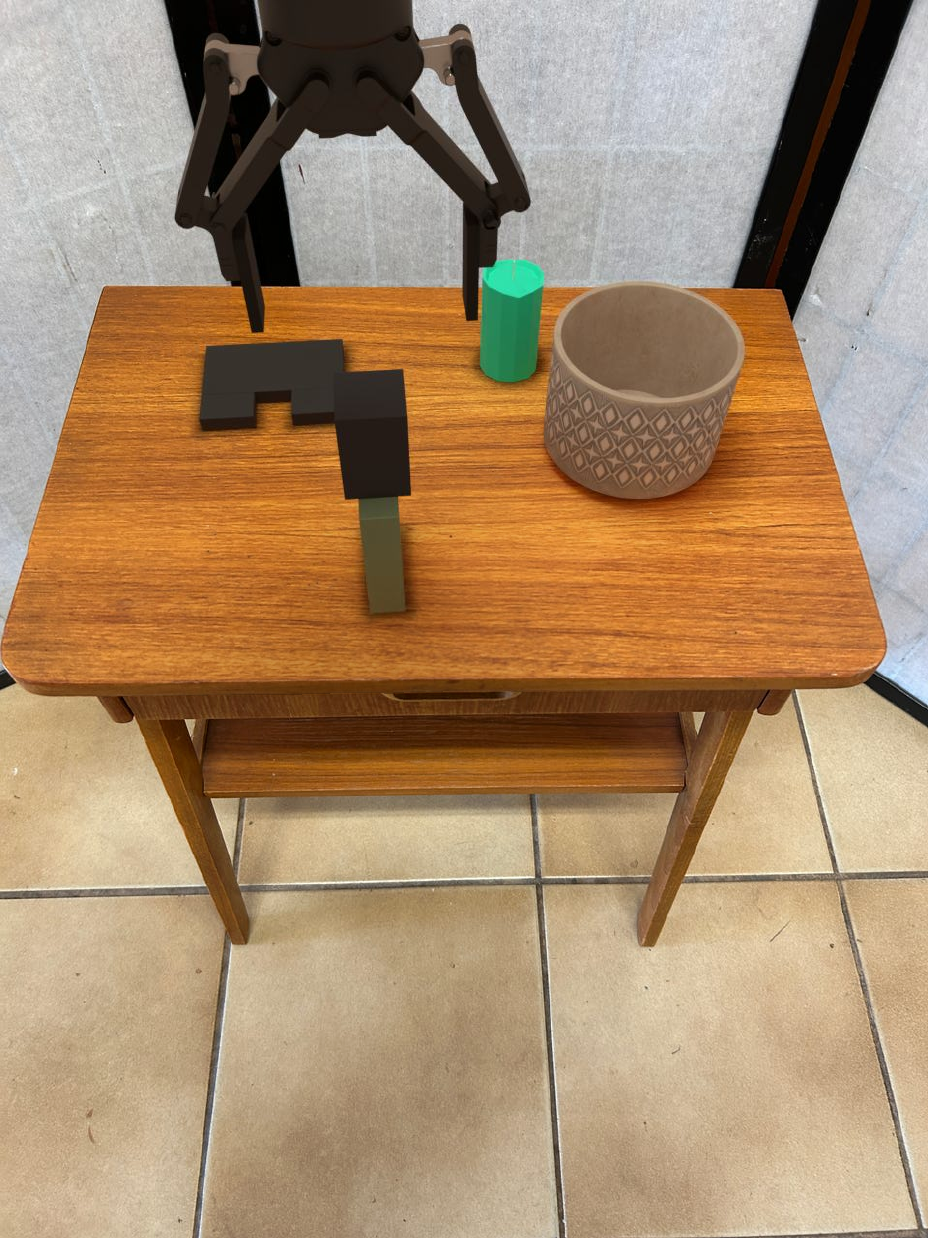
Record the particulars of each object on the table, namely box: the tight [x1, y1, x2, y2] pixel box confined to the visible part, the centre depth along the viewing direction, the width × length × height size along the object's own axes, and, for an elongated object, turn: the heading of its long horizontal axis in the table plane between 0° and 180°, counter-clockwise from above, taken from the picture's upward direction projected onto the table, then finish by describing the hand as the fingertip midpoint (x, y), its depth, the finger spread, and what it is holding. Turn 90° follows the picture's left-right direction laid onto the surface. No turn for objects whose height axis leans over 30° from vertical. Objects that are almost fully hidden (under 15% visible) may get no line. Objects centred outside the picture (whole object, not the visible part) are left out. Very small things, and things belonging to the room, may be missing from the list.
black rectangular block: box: [333, 368, 412, 501], centre depth 71 cm, size 5×8×8 cm, turn 5°
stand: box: [357, 497, 407, 615], centre depth 78 cm, size 3×9×12 cm, turn 5°
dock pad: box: [198, 338, 346, 431], centre depth 96 cm, size 14×11×2 cm
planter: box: [542, 280, 746, 500], centre depth 87 cm, size 16×16×13 cm
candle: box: [479, 258, 545, 383], centre depth 94 cm, size 6×6×12 cm
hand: (365, 314), depth 61 cm, fingers open, 13 cm apart
